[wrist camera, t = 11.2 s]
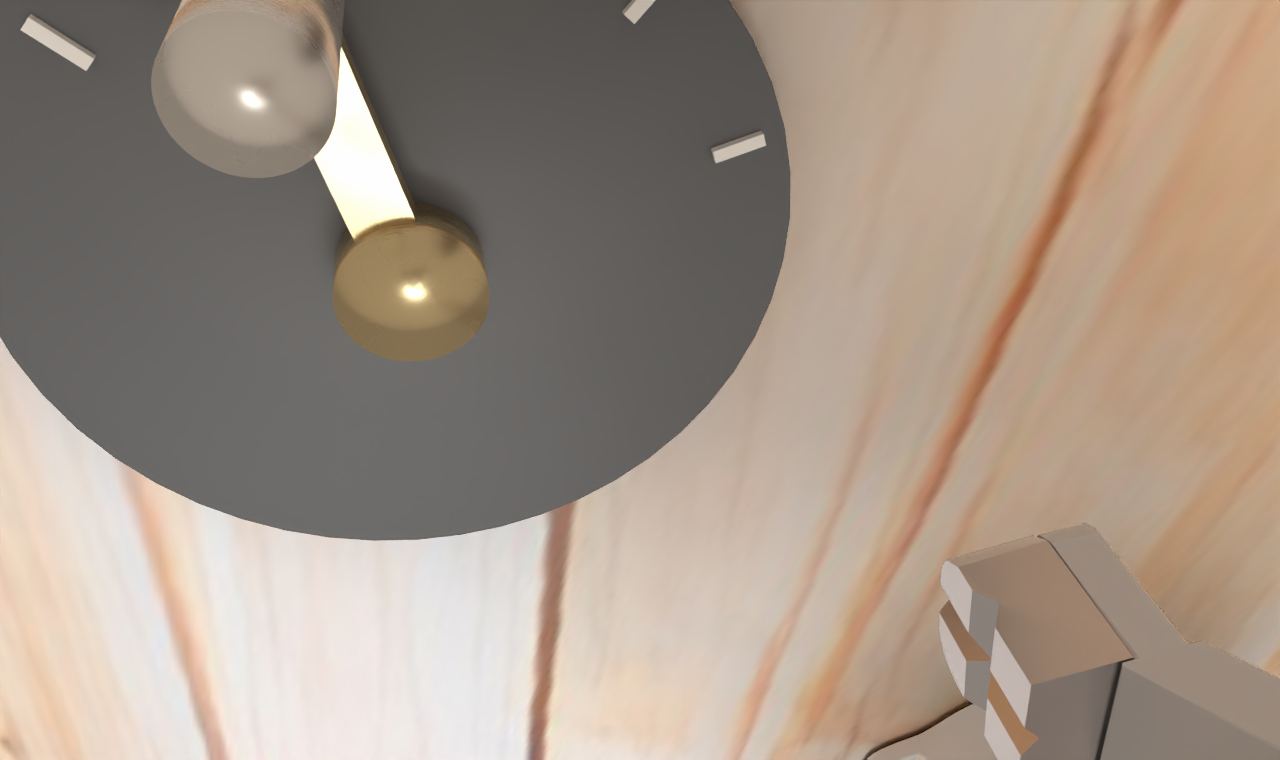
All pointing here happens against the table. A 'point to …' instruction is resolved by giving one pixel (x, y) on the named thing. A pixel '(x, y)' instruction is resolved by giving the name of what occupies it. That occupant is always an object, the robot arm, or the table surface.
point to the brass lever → (322, 162)
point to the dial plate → (313, 226)
